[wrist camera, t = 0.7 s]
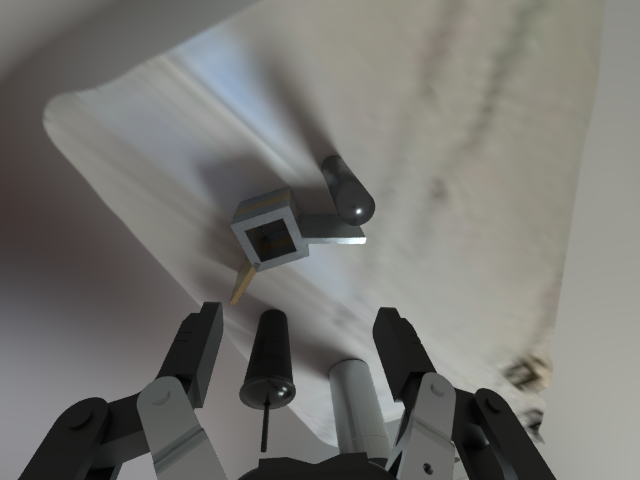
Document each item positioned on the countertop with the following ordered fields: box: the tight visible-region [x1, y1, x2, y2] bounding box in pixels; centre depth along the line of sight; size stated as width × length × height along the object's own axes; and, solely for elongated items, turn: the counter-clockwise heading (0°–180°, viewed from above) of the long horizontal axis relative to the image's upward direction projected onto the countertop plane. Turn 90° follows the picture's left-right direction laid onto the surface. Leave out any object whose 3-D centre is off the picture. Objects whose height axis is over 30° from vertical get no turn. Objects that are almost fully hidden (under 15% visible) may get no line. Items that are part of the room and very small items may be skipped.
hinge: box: [229, 186, 366, 306], centre depth 35 cm, size 11×20×7 cm, turn 107°
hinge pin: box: [322, 156, 375, 226], centre depth 28 cm, size 3×3×14 cm
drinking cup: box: [239, 310, 296, 452], centre depth 38 cm, size 8×8×20 cm
